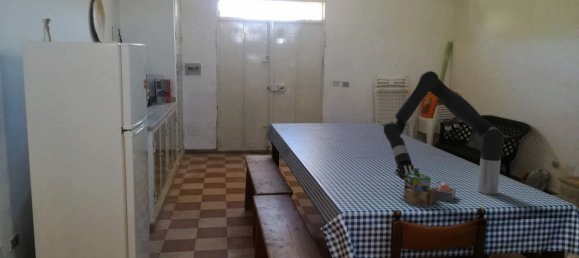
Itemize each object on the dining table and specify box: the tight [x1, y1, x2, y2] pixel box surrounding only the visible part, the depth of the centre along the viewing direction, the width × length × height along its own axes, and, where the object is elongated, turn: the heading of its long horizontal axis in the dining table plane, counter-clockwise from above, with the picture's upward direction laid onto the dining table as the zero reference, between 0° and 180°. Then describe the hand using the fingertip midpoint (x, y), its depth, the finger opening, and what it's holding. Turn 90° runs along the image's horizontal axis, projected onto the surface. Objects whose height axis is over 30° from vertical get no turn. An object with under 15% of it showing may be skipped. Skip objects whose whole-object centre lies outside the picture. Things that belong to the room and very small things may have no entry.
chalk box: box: [403, 167, 432, 198], centre depth 203 cm, size 9×9×15 cm
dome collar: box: [434, 185, 457, 202], centre depth 207 cm, size 9×9×4 cm
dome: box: [437, 182, 451, 192], centre depth 207 cm, size 6×6×6 cm
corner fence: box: [404, 187, 436, 207], centre depth 201 cm, size 11×11×6 cm
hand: (411, 186), depth 208 cm, fingers closed
